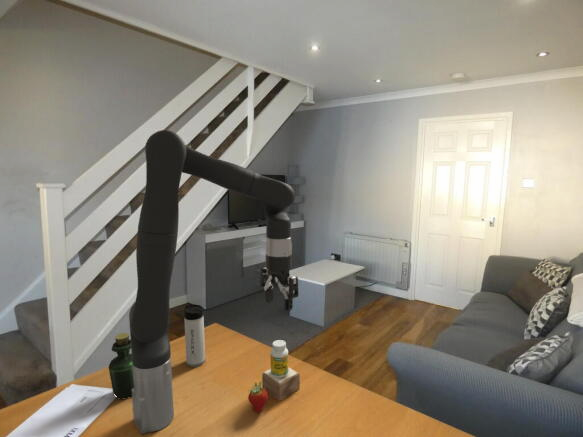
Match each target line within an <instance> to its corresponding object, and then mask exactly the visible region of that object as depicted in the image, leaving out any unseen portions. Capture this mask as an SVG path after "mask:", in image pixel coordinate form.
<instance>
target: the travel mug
mask: <svg viewBox="0 0 583 437" xmlns="http://www.w3.org/2000/svg"><path fill="white" fill-rule="evenodd" d="M183 310H184V311H183V314H184V318H183V321H184V336H185V338H184V342H185V359H186V360H185V361H186V362H185V363H186V365H187V366H188V367H190V368H196V367H200V366H202V365H203V364H204V363H205V362H206V350H205V349H206V348H205V346H206V345H205V343H206V342H205V324H204V321H205V320H204V318H205V317H204V307H203V306H202V305H201V304H200V305H199V304H191V303H189V304H186V305H185V306H184V309H183Z"/></svg>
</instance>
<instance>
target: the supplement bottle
mask: <svg viewBox="0 0 583 437" xmlns="http://www.w3.org/2000/svg"><path fill="white" fill-rule="evenodd" d="M288 367H289V350H288V348H287V342H286V341H285V340H282V339H277V340H274V341H273V342H272V348H271V350H270V369H271V374H272V375H273V376H274V377H277V378H282V377H285V376H286V375H287V374H288Z"/></svg>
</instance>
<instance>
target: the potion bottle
mask: <svg viewBox="0 0 583 437" xmlns="http://www.w3.org/2000/svg"><path fill="white" fill-rule="evenodd" d="M114 339H115V342H114V343H113V344H112V347H111V351H112V352H114V353H116V355H117V356H115V357H114V358H112V359H111V360H110V362H109V364H108V373H109V377H110V383H111V388H112V393H114V394H115V395H116V396H117V398H120V399H119V400H124V399H123V398H127V399H129V398H128V397H130V398H132V397H131V396H132V389H133V388H134V379H133V365H132V353H130V350H131V338H130V332H121V333H119V334H118V333H117V334H116V335H115V336H114ZM114 394H113V395H114ZM117 398H116V399H117Z"/></svg>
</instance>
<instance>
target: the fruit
mask: <svg viewBox="0 0 583 437" xmlns="http://www.w3.org/2000/svg"><path fill="white" fill-rule="evenodd" d="M264 388H265V387H264ZM264 388H262V381H259V383H257V382H254V386H252V385H251V389H250V390H248V392H249V393H248V398H247V399H248V401H249V403H250V404H251V406H252V409H253V410H254V412H255V413H261V412H262V411H263V409H264V408H265V405H267V401H268V397H269V396H268V394H269V393H268V392H267V391H266V390H265V389H264Z"/></svg>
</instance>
